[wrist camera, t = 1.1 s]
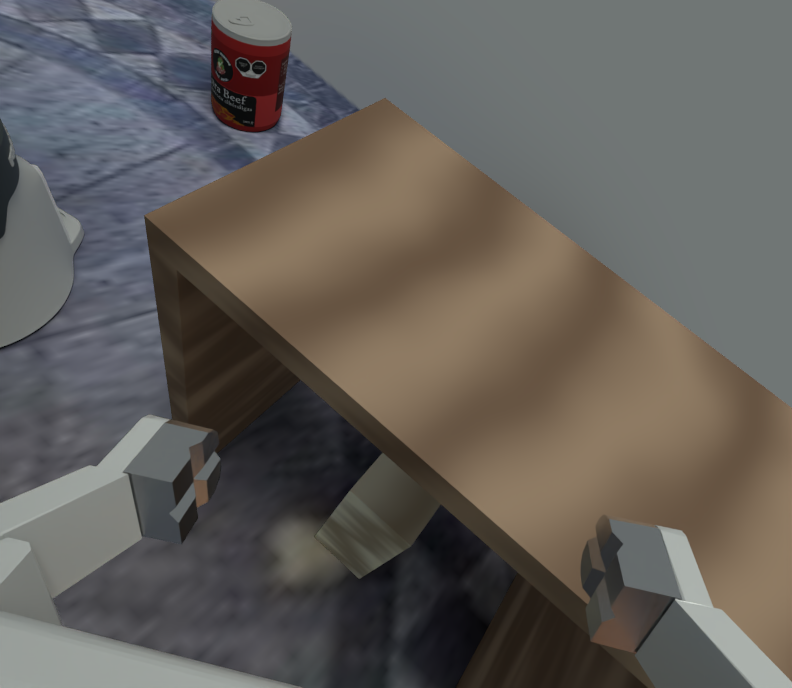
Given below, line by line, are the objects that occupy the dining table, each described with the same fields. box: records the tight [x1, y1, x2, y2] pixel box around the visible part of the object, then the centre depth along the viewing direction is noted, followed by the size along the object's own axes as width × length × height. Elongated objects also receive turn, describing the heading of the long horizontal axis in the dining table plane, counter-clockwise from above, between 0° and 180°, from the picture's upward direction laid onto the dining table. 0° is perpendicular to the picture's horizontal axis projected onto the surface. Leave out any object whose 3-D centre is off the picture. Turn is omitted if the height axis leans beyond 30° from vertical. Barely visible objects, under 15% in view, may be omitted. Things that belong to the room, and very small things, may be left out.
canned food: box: [211, 0, 292, 132], centre depth 57 cm, size 8×8×11 cm
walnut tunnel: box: [144, 98, 792, 688], centre depth 30 cm, size 27×14×26 cm, turn 53°
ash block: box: [314, 453, 441, 579], centre depth 35 cm, size 4×4×12 cm
